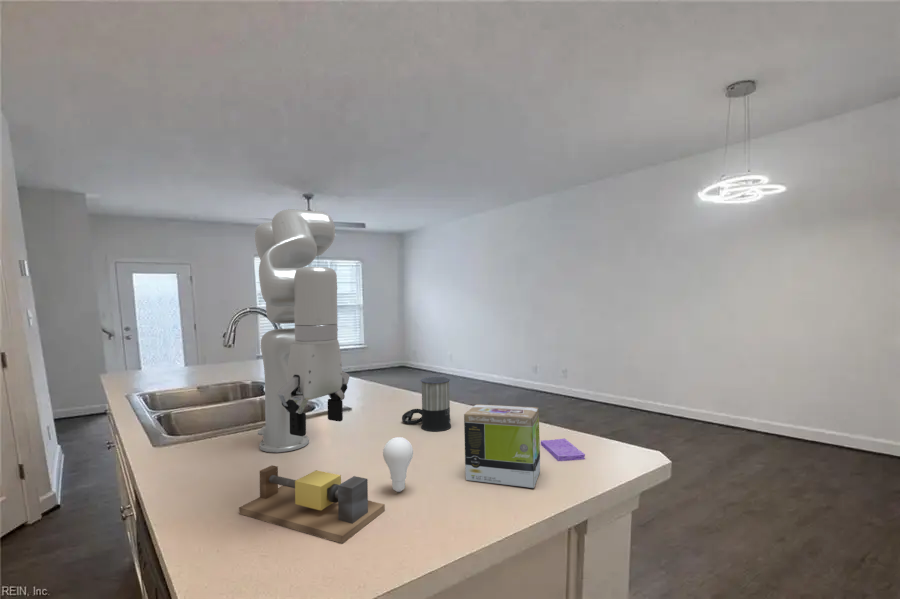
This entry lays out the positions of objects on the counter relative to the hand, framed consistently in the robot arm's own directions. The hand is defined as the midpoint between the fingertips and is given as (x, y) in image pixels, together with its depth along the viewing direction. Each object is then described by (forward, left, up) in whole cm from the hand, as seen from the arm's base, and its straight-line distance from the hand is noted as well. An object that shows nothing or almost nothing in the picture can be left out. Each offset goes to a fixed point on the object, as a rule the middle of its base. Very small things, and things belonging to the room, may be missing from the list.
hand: (317, 427), depth 81 cm
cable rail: (-1, 0, -16) cm, 16 cm away
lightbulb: (+9, +14, -16) cm, 23 cm away
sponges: (+34, +51, -17) cm, 63 cm away
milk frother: (-9, +58, -16) cm, 61 cm away
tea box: (+26, +30, -16) cm, 42 cm away
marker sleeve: (0, 0, -13) cm, 13 cm away
